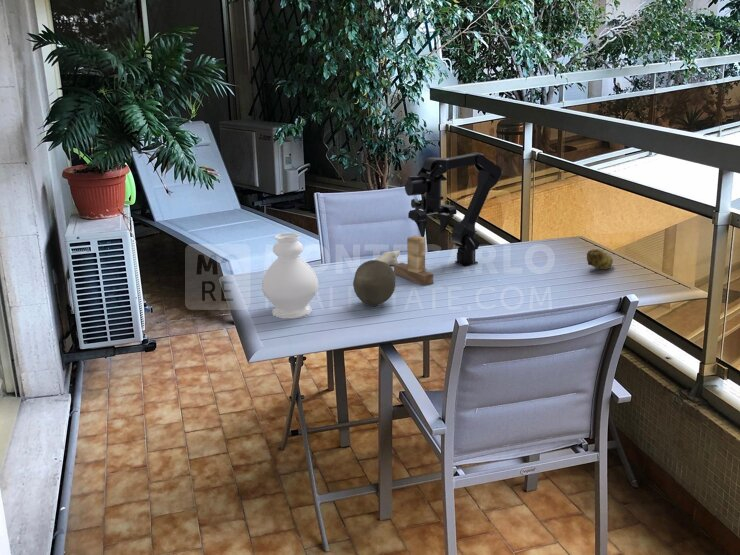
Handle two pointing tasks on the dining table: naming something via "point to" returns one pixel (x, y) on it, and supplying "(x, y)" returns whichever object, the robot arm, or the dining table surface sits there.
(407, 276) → the brown wooden bar
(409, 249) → the oak post
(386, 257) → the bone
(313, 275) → the decorative vase
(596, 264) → the olive green oval lump
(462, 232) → the robot arm
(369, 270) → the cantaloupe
